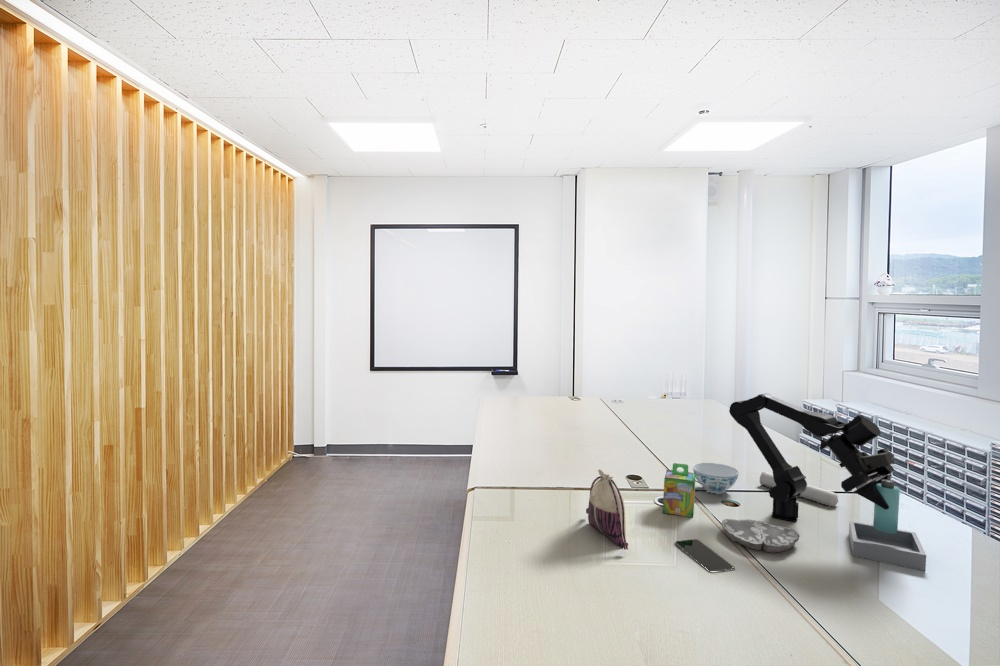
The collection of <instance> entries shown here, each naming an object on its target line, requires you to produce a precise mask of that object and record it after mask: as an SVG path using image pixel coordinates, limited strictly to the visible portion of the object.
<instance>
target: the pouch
mask: <svg viewBox="0 0 1000 666" xmlns="http://www.w3.org/2000/svg"><path fill="white" fill-rule="evenodd" d="M597 472H598V474H599V476H596V478H595V479H594V480H593V481H592V483H591V486H590V489H589V498H588V499H589V500H588V505H587V506H588V507H587V508H586V509H585V514H587V520H588V521H587V522H588V523H589V524H590V525H591V527H594V528H595V529H597V531H599V532H600V533H601V534H603V535H604V536H606V537H607V538H608V539H610V540H611V541H613V542H614V543H615V544H616V545H618V546H620V547H622V548H623V550H629V548H628V546H629V543H628V542H627V540H626V539H627V538H626V537H627V534H626V532H627V531H626V530H627V529H626V528H627V527H626V510H625V509H626V508H625V506H626V505H625V501H624V498H623V495H622V492H620V489H619V488H618V486H617V484H616V482H615V481H614V480H613V479H614V476H610V474H606V473H604V472H603V470H602V469H601V468H599V469H598V470H597ZM596 481H597V482H596Z"/></svg>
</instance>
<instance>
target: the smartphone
mask: <svg viewBox="0 0 1000 666" xmlns="http://www.w3.org/2000/svg"><path fill="white" fill-rule="evenodd" d="M674 545H676V547H678V546H679V547H680V548H681V549H683V550H684V551H685V552H687V553H688V554H689V555H691V556H692V557H693V558H694V559H695V560H697V561H698V562H699V563H700V564H702V565H703V566H704V567H706V568H707V569H708V570H709V571H722V572H726V571H725V570H730V571H735V570H734V569H736V568H735V566H733V565H732V564H731V563H729V561H727V560H726V559H724V558H723V557H721V556H720V555H719V554H718V553H716V552H715V551H714V550H712V549H711V548H710V547H708V546H707V545H706V544H704V543H703V542H702V541H700V540H699V539H697V538H695V539H694V538H693V539H684V540H677V541H675V542H674ZM679 547H678V548H679ZM680 548H679V549H680ZM681 549H680V550H681ZM683 550H682V551H683ZM684 551H683V552H684ZM685 552H684V553H685ZM689 555H688V556H689ZM694 559H693V560H694ZM695 560H694V561H695ZM699 563H698V564H699ZM700 564H699V565H700ZM704 567H703V568H704ZM731 569H732V570H731ZM709 571H708V572H709Z"/></svg>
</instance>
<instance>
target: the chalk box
mask: <svg viewBox="0 0 1000 666" xmlns="http://www.w3.org/2000/svg"><path fill="white" fill-rule="evenodd" d="M678 468H682V469H683V471H682V470H678ZM663 481H664V483H663V497H662V498H663V503H662V505H663V506H662V513H663V514H668V513H669V514H670V515H677V516H681V517H687V518H693V517H694V514H695V513H694V510H695V499H696V498H695V496H696V495H695V494H696V493H695V492H696V475H695V473H694V472H691V471H689V465H688V463H687V464H686V463H675V462H674V463H673V464H672V469H666V471H665V475H664V480H663ZM669 514H668V515H669Z"/></svg>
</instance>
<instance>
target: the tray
mask: <svg viewBox="0 0 1000 666" xmlns="http://www.w3.org/2000/svg"><path fill="white" fill-rule="evenodd" d="M848 522H849V525H848V538H849V544H850V548H851V549H850V550H851V555H852V557H856V558H862V559H865V558H866V560H870V561H875V562H880V561H881V563H884V562H885V564H889V563H890V564H891V565H895V566H899V565H900V566H899V567H904V566H905V568H908V567H909V568H908V569H913V568H914V569H915V570H918V569H920V570H919V571H923V570H925V571H926V569H927V568H926V565H927V554H926V551H925V550H924V548H923V545H922V543H921V541H920V539H919V537H918V535H917V533H916V532H915V531H910V530H903V529H897V533H885V532H881V531H878V530H876V529H875V528H874V527H873V524H869V523H865V522H860V521H853V520H849V521H848Z"/></svg>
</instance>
